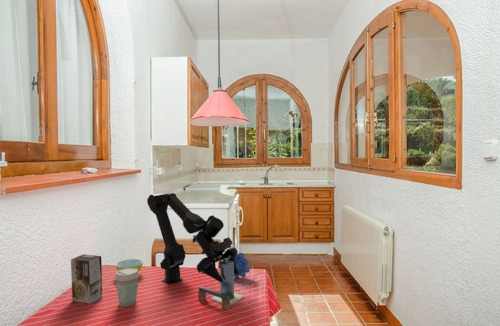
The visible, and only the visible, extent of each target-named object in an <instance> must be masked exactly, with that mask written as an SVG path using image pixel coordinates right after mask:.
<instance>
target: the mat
mask: <svg viewBox="0 0 500 326" xmlns="http://www.w3.org/2000/svg"><path fill="white" fill-rule="evenodd" d="M244 298H245V296H244V295H242V294H239V293H236V292H234V298H233V299H230V306H231V305H233V304H234V303H236V302H239V301H240V300H242V299H244ZM210 301H214V302H217V303H220V304H222V299H221V298H220V297H217V296H214V295H213V296H212V297H210Z"/></svg>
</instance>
